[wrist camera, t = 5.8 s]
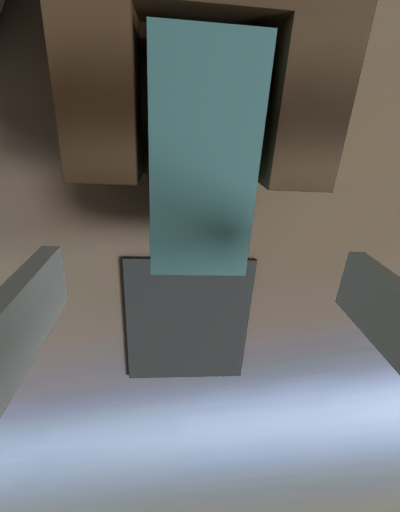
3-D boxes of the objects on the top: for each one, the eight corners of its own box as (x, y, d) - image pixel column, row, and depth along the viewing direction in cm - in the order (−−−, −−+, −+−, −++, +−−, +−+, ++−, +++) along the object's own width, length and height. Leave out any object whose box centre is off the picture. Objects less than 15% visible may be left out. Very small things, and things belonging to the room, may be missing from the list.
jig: (72, -137, 17) (-4, -329, 10) (331, -104, 18) (435, -248, 11) (97, 162, 23) (63, 182, 16) (286, 170, 25) (332, 192, 18)
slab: (152, 37, 17) (146, 16, 14) (256, 46, 18) (277, 28, 14) (154, 249, 22) (150, 274, 19) (234, 250, 23) (245, 275, 19)
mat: (123, 256, 27) (122, 258, 27) (255, 258, 28) (256, 260, 28) (129, 375, 33) (129, 378, 32) (239, 372, 34) (240, 375, 33)
